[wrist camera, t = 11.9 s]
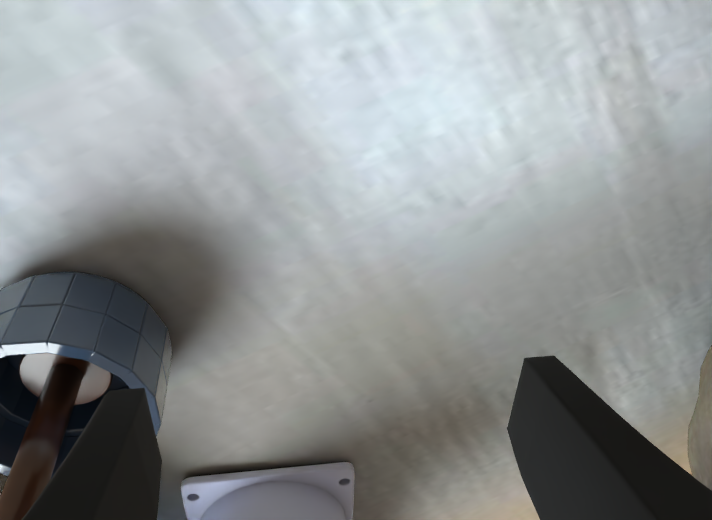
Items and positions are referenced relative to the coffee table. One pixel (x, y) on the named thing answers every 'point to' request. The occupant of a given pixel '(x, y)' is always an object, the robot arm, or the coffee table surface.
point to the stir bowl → (77, 347)
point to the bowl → (702, 428)
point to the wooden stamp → (47, 423)
